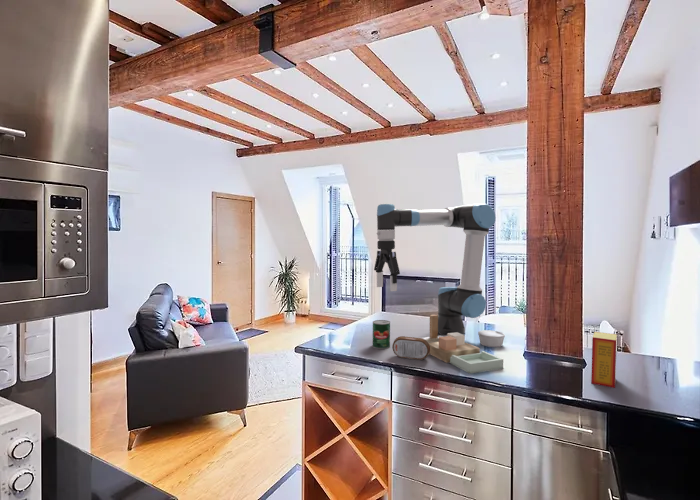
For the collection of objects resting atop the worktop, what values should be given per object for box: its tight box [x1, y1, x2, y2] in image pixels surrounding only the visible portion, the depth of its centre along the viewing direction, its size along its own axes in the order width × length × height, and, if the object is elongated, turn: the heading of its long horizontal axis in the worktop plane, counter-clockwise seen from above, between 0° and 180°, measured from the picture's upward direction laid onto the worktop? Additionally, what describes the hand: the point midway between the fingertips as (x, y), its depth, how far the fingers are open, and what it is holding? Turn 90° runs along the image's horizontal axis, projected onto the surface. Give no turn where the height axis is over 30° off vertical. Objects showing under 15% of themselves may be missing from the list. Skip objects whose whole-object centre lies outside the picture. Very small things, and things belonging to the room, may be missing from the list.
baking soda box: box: [590, 331, 618, 389], centre depth 132 cm, size 10×6×16 cm
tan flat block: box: [428, 342, 481, 364], centre depth 160 cm, size 16×14×4 cm
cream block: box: [446, 332, 466, 346], centre depth 163 cm, size 5×5×4 cm
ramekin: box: [477, 329, 506, 348], centre depth 176 cm, size 11×11×5 cm
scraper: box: [421, 314, 447, 343], centre depth 173 cm, size 14×3×14 cm, turn 111°
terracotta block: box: [439, 335, 457, 350], centre depth 157 cm, size 5×5×4 cm
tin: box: [392, 335, 430, 361], centre depth 156 cm, size 15×3×8 cm, turn 71°
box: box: [449, 350, 504, 375], centre depth 147 cm, size 15×12×4 cm
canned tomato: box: [372, 319, 391, 350], centre depth 172 cm, size 8×8×11 cm
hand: (386, 289), depth 169 cm, fingers open, 13 cm apart
